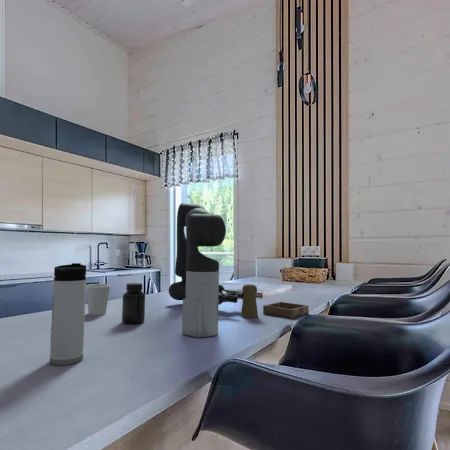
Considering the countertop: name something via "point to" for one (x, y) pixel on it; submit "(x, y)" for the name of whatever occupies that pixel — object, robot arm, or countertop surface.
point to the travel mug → (68, 314)
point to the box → (286, 310)
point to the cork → (249, 302)
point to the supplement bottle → (133, 304)
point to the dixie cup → (97, 298)
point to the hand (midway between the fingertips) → (244, 298)
